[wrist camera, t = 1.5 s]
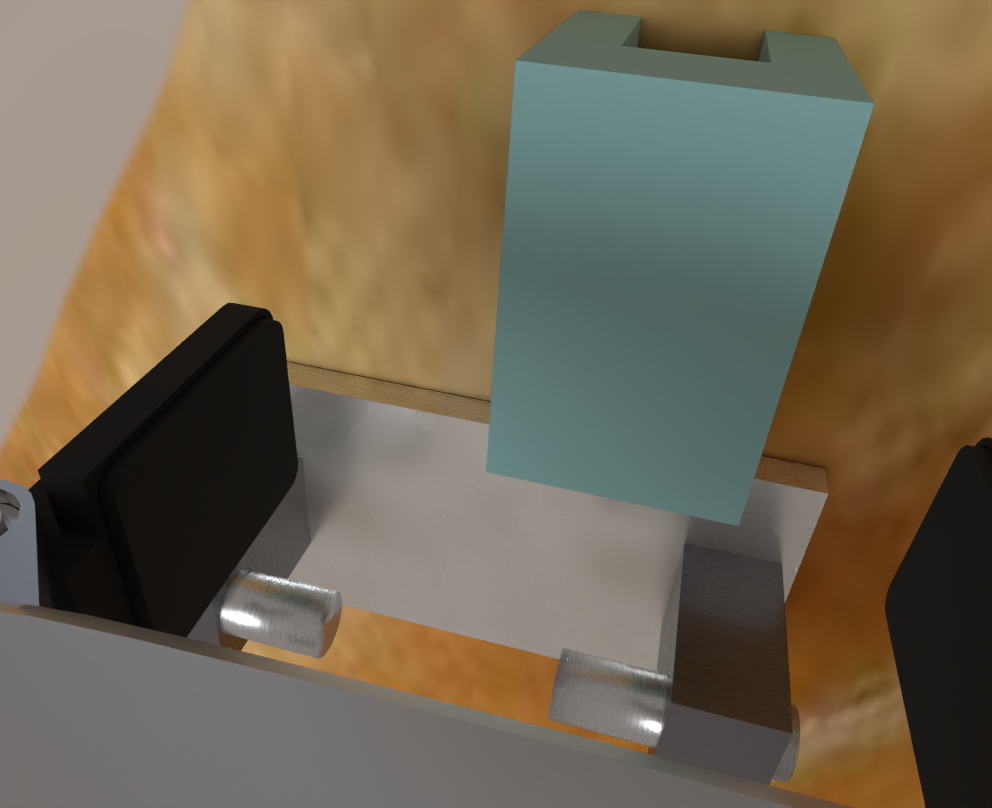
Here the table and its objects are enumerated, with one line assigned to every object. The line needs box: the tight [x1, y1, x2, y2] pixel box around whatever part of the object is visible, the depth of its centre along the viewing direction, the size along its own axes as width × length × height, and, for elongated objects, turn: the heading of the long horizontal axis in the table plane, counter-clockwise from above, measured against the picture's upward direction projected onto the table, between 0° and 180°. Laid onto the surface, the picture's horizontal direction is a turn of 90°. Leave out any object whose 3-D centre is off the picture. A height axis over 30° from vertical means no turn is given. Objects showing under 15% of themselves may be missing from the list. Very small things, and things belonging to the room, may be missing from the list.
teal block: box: [486, 10, 875, 526], centre depth 18 cm, size 6×9×6 cm, turn 176°
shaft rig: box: [187, 362, 828, 785], centre depth 25 cm, size 10×20×7 cm, turn 86°
